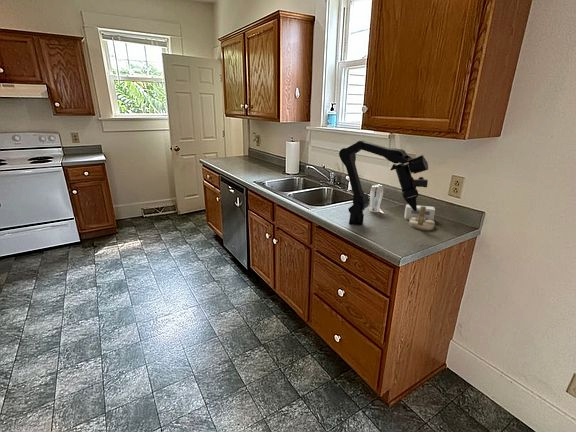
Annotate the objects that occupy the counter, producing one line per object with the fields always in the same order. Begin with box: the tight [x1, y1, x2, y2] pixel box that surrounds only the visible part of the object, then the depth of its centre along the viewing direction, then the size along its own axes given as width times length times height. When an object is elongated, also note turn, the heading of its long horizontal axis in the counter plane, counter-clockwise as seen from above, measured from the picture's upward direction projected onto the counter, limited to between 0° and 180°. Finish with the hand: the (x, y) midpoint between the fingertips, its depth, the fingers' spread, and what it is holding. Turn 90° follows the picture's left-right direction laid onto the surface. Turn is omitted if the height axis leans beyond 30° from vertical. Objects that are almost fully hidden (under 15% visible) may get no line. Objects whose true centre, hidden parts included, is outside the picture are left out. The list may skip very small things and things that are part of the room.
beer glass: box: [368, 183, 385, 214], centre depth 178 cm, size 7×7×15 cm
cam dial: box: [408, 205, 436, 231], centre depth 158 cm, size 12×12×12 cm
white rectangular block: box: [403, 203, 436, 221], centre depth 168 cm, size 14×6×7 cm, turn 77°
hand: (415, 209), depth 143 cm, fingers open, 9 cm apart
